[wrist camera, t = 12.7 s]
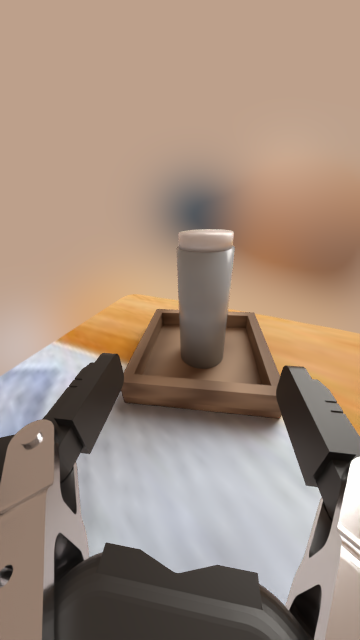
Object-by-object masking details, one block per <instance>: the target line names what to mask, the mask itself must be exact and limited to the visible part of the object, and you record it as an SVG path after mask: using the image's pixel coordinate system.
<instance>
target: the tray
mask: <svg viewBox="0 0 360 640" xmlns="http://www.w3.org/2000/svg"><path fill="white" fill-rule="evenodd" d="M123 374H124V383H123V386H122V389H121V391H122V395H123V398H124V402H126V403H136V404H145V405H155V406H164V407H174V408H184V409H193V410H203V411H213V412H222V413H232V414H242V415H251V416H261V417H271V418H280V417H281V415H282V414H281V411H280V408H279V405H278V403H277V398H276V388H277V385H278V382H279V379H280V375H279V373H278V370H277V368H276V365H275V363H274V360H273V358H272V355H271V353H270V351H269V348H268V346H267V343H266V341H265V338H264V336H263V333H262V331H261V328H260V326H259V323H258V321H257V319H256V316H255V314H254V313H250V312H228V315H227V325H226V334H225V344H224V353H223V359H222V361H221V362H220V363H219V364H218V365H216V366H214V367H212V368H207V369H200V368H194V367H192V366H189V365H188V364H186V363H185V362H184V361H183V360H182V358H181V350H180V323H179V310H166V309H157V310H156V312H155V314H154V316H153V318H152V319H151V321H150V323H149V325H148V327H147V329H146V331H145V333H144V335H143V337H142V339H141V341H140V342H139V344H138V346H137V348H136V350H135V352H134V354H133V356H132V358H131V360H130V362H129V364H128V365H127V367H126V369H125V371H124V373H123Z"/></svg>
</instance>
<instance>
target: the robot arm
mask: <svg viewBox="0 0 360 640" xmlns="http://www.w3.org/2000/svg"><path fill="white" fill-rule="evenodd" d="M123 383H124V374H123V370H122V366H121V362H120V358H119V355H118V354H110V353H102V354H101V355H100V356H99V357H98V359H97V360H96V361H95V363H90V364H89V365H87V366H86V367H85V368H83V369H82V370H81V371H80V372H79V374H78V375H77V376H76V378H75V380H73V381H72V383H71V384H70V385H69V387H68V388H67V389H66V390H65V392H64V393H63V394H62V395H61V397H60V398H59V399H58V400H57V402H56V403H55V404H54V406H53V407H52V408H51V409H50V411H49V412H48V413H47V415H46V416H45V417H44V418H43V419H42V420H37V421H34V422H32V423H30V424H28V425H26V426H25V427H23V428H22V429H21V430H20V431H18V432H17V433H16V434H15V435H11V436H6V437H1V438H0V640H360V437H359V435H358V434H357V432H356V430H355V429H354V427H353V426H352V424H351V423H350V421H349V420H348V418H347V417H346V415H345V414H343V410H342V409H341V407H340V406H339V404H337V401H336V400H335V398H334V397H333V395H332V394H331V392H330V390H329V389H328V388H326V387H325V386H324V385H323V384H322V383H321V382H320V381H318V380H313V379H312V378H311V377H310V375H309V373H308V372H307V370H306V369H305V368H304V367H298V366H284V367H283V370H282V373H281V376H280V379H279V382H278V385H277V388H276V398H277V403H278V405H279V408H280V411H281V414H282V417H283V420H284V423H285V426H286V429H287V432H288V434H289V437H290V440H291V443H292V446H293V449H294V452H295V455H296V458H297V461H298V463H299V466H300V469H301V472H302V475H303V478H304V481H305V484H306V486H314V487H318V488H319V491H320V493H321V496H322V498H321V499H320V502H319V505H318V509H317V512H316V516H315V519H314V523H313V526H312V530H311V533H310V537H309V540H308V544H307V547H306V551H305V554H304V557H303V559H302V562H301V564H300V566H299V567H298V569H297V572H296V574H295V577H294V579H293V582H292V585H291V588H290V592H289V595H288V599H287V602H286V605H285V606H284V605H283V604H282V602H281V601H280V600H279V599H278V598H277V597H276V596H274V595H273V594H272V593H271V592H270V591H268V590H267V589H266V588H265V587H263V586H261V585H260V584H259V581H258V573H255V572H250V571H245V570H240V569H235V568H230V567H225V566H220V565H215V566H210V567H206V568H201V569H197V570H192V571H188V572H183V573H175V572H173V571H171V570H170V569H168V568H167V567H165V566H164V565H162V564H161V563H159V562H158V561H156V560H155V559H153V558H152V557H151V556H149V555H148V554H146V553H145V552H143V551H142V550H140V549H135V548H130V547H125V546H120V545H115V544H110V543H106V544H105V547H104V550H103V552H102V553H99V554H96V555H94V556H91V557H89V548H88V540H87V534H86V530H85V526H84V523H83V520H82V515H81V506H80V495H79V484H78V473H77V463H76V460H77V458H78V456H79V454H80V453H86V454H90V453H91V451H92V449H93V447H94V444H95V442H96V440H97V438H98V436H99V434H100V432H101V430H102V428H103V426H104V424H105V422H106V420H107V418H108V416H109V414H110V411H111V409H112V407H113V405H114V403H115V401H116V399H117V397H118V395H119V393H120V391H121V389H122V386H123Z"/></svg>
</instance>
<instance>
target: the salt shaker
mask: <svg viewBox="0 0 360 640" xmlns="http://www.w3.org/2000/svg"><path fill="white" fill-rule="evenodd" d="M178 234H179V246H178V247H177V268H178V269H177V270H178V295H179V296H178V297H179V323H180V350H181V358H182V360H183V361H184V362H185V363H186V364H188V365H189V366H192V367H194V368H200V369H207V368H212V367H214V366H216V365H218V364H219V363H220V362H221V361H222V359H223V353H224V344H225V334H226V325H227V315H228V306H229V297H230V287H231V277H232V268H233V259H234V250H235V247H234V246H232V245H233V235H234V232H233V231H230V230H217V229H216V230H215V229H208V230H207V229H204V230H189V231H183V232H179V233H178Z"/></svg>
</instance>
